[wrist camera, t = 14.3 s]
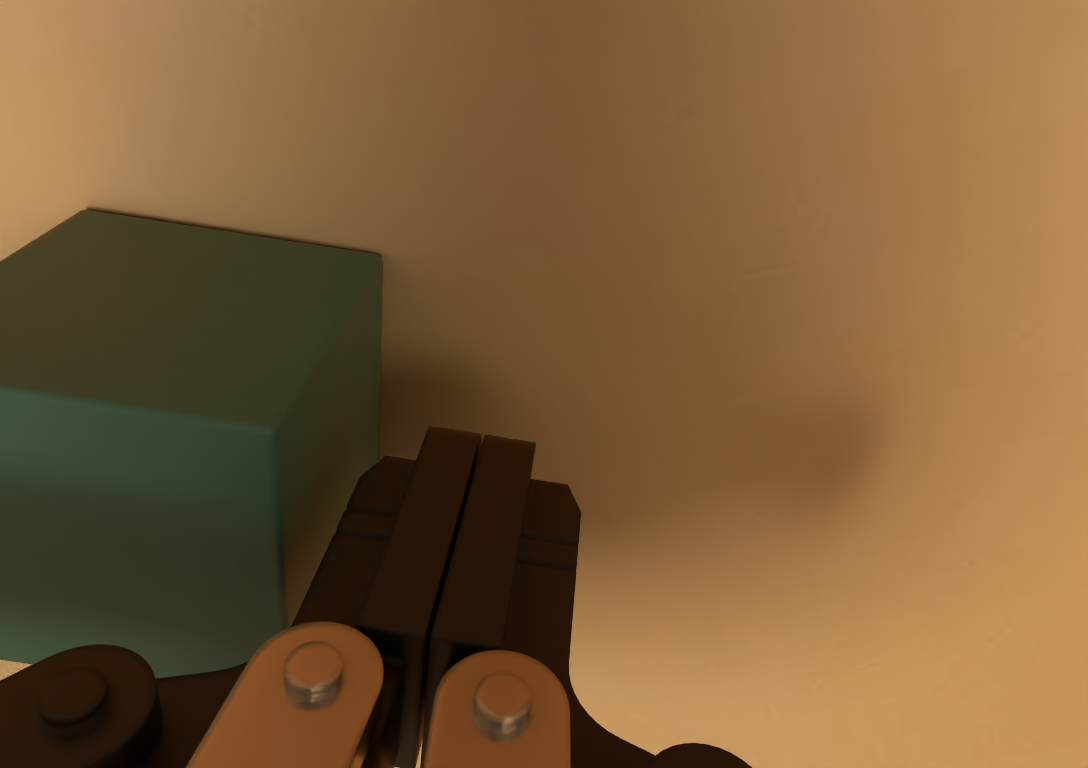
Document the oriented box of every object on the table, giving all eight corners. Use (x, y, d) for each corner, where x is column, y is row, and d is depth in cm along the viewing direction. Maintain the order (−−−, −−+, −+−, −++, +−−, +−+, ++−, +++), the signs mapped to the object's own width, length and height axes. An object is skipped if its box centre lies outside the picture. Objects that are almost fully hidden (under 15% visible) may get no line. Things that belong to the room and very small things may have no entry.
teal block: (81, 206, 12) (-169, 362, 8) (384, 253, 12) (272, 430, 8) (127, 448, 15) (-51, 655, 11) (379, 486, 15) (291, 707, 11)
